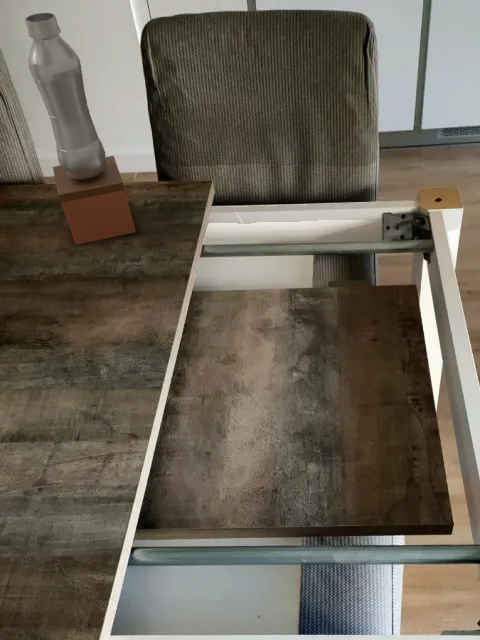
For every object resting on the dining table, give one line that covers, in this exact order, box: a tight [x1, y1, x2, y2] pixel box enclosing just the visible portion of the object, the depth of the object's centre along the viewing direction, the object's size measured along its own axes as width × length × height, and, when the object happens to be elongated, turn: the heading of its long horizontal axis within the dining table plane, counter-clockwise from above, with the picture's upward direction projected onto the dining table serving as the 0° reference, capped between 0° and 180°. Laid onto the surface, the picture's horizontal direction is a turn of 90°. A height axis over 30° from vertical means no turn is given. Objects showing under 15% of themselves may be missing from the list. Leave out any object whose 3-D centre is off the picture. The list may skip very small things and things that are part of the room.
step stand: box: [52, 155, 137, 246], centre depth 98 cm, size 9×9×8 cm
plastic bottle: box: [24, 12, 107, 179], centre depth 88 cm, size 6×7×20 cm
